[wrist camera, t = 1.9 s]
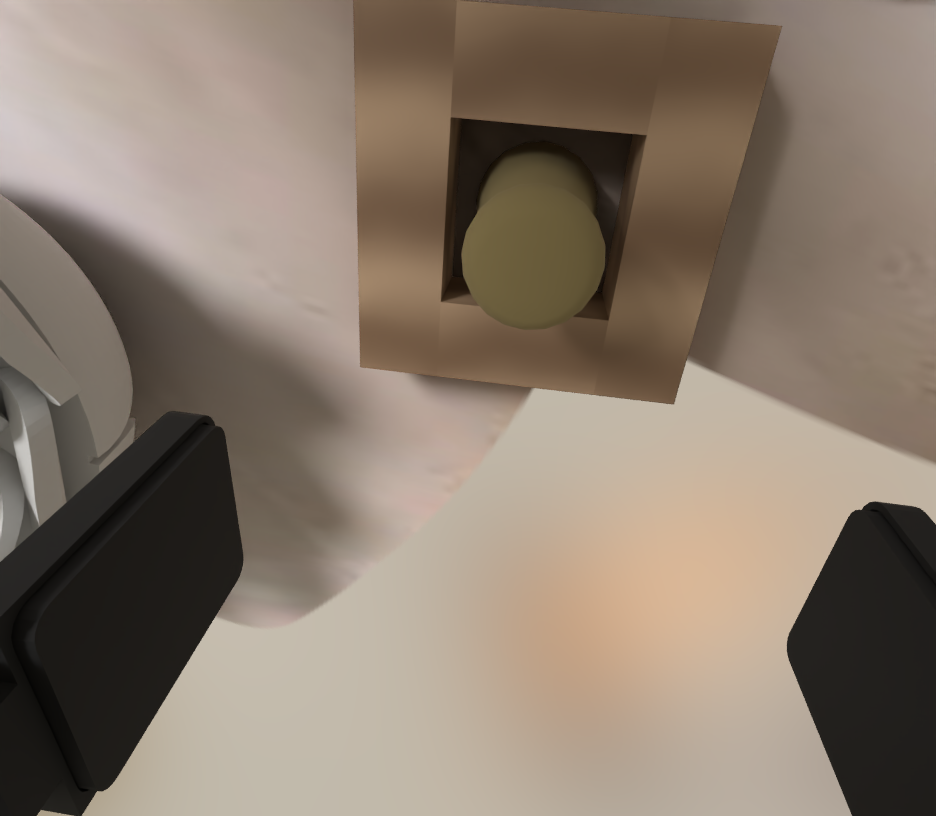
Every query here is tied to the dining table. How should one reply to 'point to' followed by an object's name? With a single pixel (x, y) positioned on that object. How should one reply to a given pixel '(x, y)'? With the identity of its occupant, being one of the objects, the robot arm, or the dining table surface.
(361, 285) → the walnut holder
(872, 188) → the dining table surface
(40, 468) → the decorative bowl
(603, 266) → the cork
